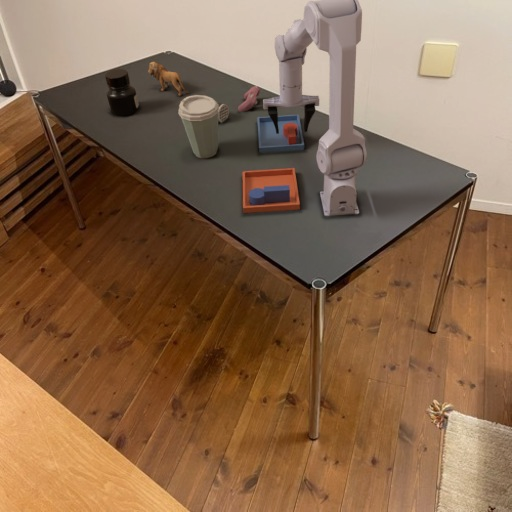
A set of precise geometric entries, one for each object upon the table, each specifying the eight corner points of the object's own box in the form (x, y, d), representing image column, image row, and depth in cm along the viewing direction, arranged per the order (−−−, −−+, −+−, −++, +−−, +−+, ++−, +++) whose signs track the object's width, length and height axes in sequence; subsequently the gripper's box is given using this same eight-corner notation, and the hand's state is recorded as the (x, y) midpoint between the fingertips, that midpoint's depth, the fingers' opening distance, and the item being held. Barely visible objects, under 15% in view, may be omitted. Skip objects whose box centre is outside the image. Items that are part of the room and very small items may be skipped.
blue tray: (304, 151, 138) (304, 144, 136) (259, 154, 138) (259, 147, 137) (298, 120, 150) (298, 114, 149) (257, 123, 151) (257, 117, 149)
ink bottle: (145, 109, 162) (137, 72, 153) (123, 120, 157) (113, 82, 149) (127, 100, 167) (118, 64, 159) (105, 111, 162) (95, 74, 154)
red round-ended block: (299, 147, 138) (299, 136, 136) (285, 148, 138) (284, 137, 136) (296, 130, 145) (296, 119, 143) (282, 131, 145) (282, 120, 143)
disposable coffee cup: (230, 145, 142) (224, 95, 132) (215, 166, 135) (208, 114, 125) (196, 140, 145) (188, 91, 135) (179, 160, 138) (169, 109, 128)
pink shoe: (249, 118, 156) (258, 99, 152) (236, 111, 156) (245, 92, 151) (256, 103, 163) (265, 85, 159) (243, 97, 163) (251, 78, 158)
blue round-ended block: (289, 194, 123) (288, 182, 121) (290, 204, 120) (290, 192, 118) (249, 197, 123) (248, 185, 121) (249, 207, 120) (248, 195, 118)
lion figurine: (149, 90, 172) (143, 64, 166) (158, 84, 175) (153, 58, 169) (185, 97, 166) (180, 70, 160) (194, 90, 169) (190, 64, 163)
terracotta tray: (299, 211, 119) (299, 204, 117) (243, 214, 119) (243, 207, 118) (294, 174, 130) (294, 167, 128) (243, 178, 130) (242, 171, 129)
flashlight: (179, 115, 157) (176, 99, 154) (189, 108, 161) (186, 91, 157) (219, 125, 151) (217, 109, 147) (229, 117, 154) (228, 101, 150)
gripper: (317, 74, 131) (316, 121, 141) (261, 78, 132) (264, 125, 141) (320, 86, 126) (319, 134, 136) (262, 90, 127) (265, 138, 136)
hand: (291, 130), depth 138 cm, fingers open, 7 cm apart
